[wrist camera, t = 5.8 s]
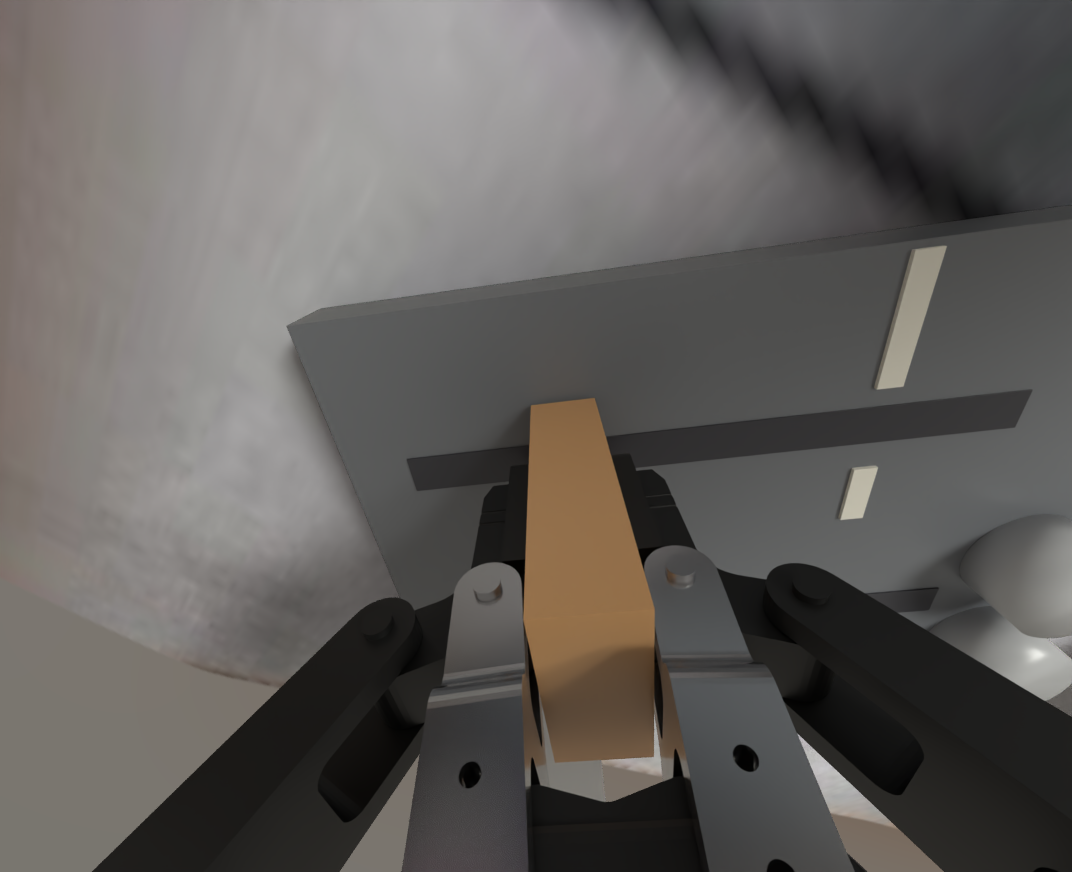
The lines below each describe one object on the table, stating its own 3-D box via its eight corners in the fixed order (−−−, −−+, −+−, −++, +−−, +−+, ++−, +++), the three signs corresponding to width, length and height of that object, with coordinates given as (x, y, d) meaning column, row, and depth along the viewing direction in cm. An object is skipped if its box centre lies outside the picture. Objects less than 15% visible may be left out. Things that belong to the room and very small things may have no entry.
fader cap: (531, 405, 12) (522, 619, 6) (594, 397, 12) (654, 609, 6) (547, 515, 14) (554, 762, 8) (602, 509, 14) (653, 756, 8)
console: (320, 308, 13) (-20, 480, 5) (1187, 188, 11) (2687, 166, 3) (453, 667, 22) (405, 935, 14) (953, 628, 20) (1223, 907, 12)
